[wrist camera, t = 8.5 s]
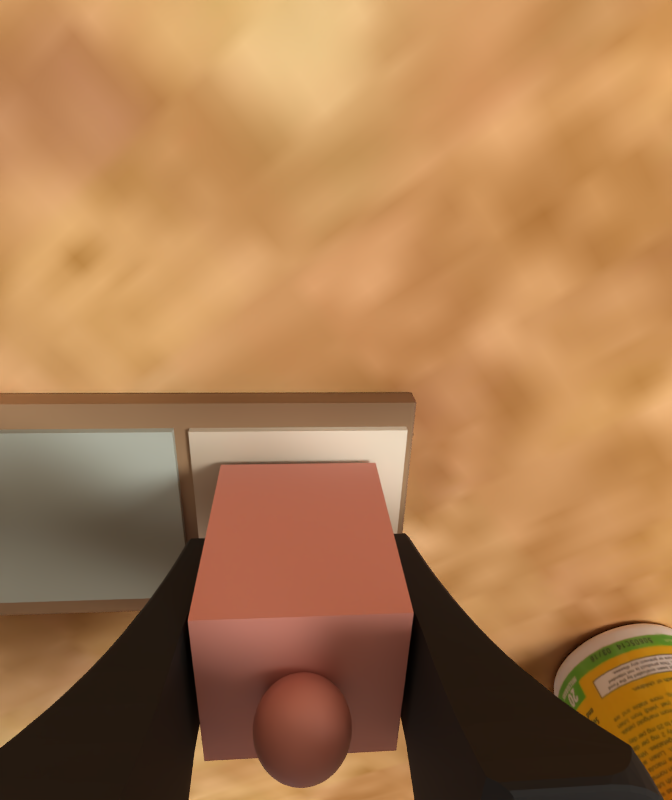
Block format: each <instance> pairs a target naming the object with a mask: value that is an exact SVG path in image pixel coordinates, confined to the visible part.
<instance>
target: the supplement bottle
mask: <svg viewBox="0 0 672 800" xmlns="http://www.w3.org/2000/svg"><path fill="white" fill-rule="evenodd" d="M554 695H555V696H557V697H558V698H559V699H561V700H562V701H564V702H565V703H566V704H568V705H569V706H571V707H572V708H573V709H575V710H576V711H578V712H579V713H580V714H582V715H583V716H585V717H586V718H588V719H589V720H591V721H592V722H594V723H596V724H597V725H599V726H600V727H602V728H604V729H605V730H607V731H608V732H610V733H611V734H613V735H615V736H616V737H618V738H619V739H621V740H622V741H624V742H626V743H627V744H629V745H630V746H631V747H632V748H633V750H634V752H635V753H636V755H637V756H638V758H639V759H640V761H641V762H642V763H643V765H644V766H645V768H646V769H647V771H648V773H649V774H650V776H651V777H652V779H653V781H654V783H655V784H656V786H657V788H658V790H659V792H660V793H661V795H662V797H663V799H664V800H672V628H669V627H666V626H662V625H657V624H647V623H641V624H631V625H625V626H621V627H617V628H614V629H611V630H608V631H606V632H603V633H601V634H599V635H596V636H595V637H593V638H591V639H589V640H588V641H586V642H584V643H583V644H582V645H580V646H579V647H578V648H576V649H575V650H574V651H573V652H572V653H571V654H570V655H569V656H568V657H567V658H566V659H565V660H564V662H563V663H562V665H561V666H560V668H559V670H558V672H557V674H556V677H555V681H554Z"/></svg>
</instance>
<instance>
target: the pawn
mask: <svg viewBox="0 0 672 800" xmlns="http://www.w3.org/2000/svg"><path fill="white" fill-rule="evenodd" d="M413 614H414V612H413V608H412V604H411V600H410V596H409V592H408V589H407V585H406V581H405V577H404V573H403V569H402V565H401V561H400V557H399V553H398V549H397V545H396V541H395V537H394V533H393V530H392V526H391V522H390V518H389V514H388V510H387V506H386V502H385V498H384V494H383V490H382V486H381V482H380V478H379V474H378V470H377V467H376V463H321V464H243V465H221V466H220V471H219V476H218V480H217V485H216V490H215V494H214V499H213V504H212V509H211V513H210V518H209V523H208V527H207V532H206V537H205V541H204V546H203V551H202V556H201V560H200V565H199V570H198V574H197V579H196V584H195V589H194V593H193V598H192V603H191V607H190V612H189V617H188V628H189V636H190V644H191V653H192V661H193V669H194V678H195V686H196V694H197V703H198V711H199V719H200V728H201V736H202V744H203V753H204V761H212V760H230V759H248V758H259V761H260V762H261V764H262V766H263V767H264V769H265V770H266V771H267V772H268V773H269V774H270V775H271V776H272V777H273V778H274V779H276V780H277V781H279V782H280V783H282V784H285V785H288V786H291V787H296V788H305V787H311V786H315V785H317V784H319V783H322V782H323V781H325V780H327V779H328V778H329V777H330V776H332V775H333V774H334V773H335V772H336V771H337V769H338V768H339V767H340V766H341V764H342V762H343V761H344V759H345V757H346V755H347V753H357V752H375V751H394V750H396V747H397V739H398V731H399V724H400V716H401V708H402V700H403V692H404V685H405V677H406V669H407V661H408V653H409V646H410V638H411V630H412V622H413Z"/></svg>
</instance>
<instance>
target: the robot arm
mask: <svg viewBox="0 0 672 800" xmlns="http://www.w3.org/2000/svg"><path fill="white" fill-rule="evenodd" d="M394 537H395V541H396V545H397V549H398V553H399V557H400V561H401V565H402V569H403V573H404V577H405V581H406V585H407V589H408V592H409V596H410V600H411V604H412V608H413V612H414V614H413V622H412V630H411V638H410V646H409V653H408V661H407V669H406V677H405V685H404V692H403V700H402V708H401V720H402V725H403V730H404V735H405V740H406V745H407V752H408V759H409V765H410V772H411V779H412V785H413V792H414V800H664V799H663V797H662V795H661V793H660V792H659V790H658V788H657V786H656V784H655V783H654V781H653V779H652V777H651V776H650V774H649V773H648V771H647V769H646V768H645V766H644V765H643V763H642V762H641V761H640V759H639V758H638V756H637V755H636V753H635V752H634V750H633V748H632V747H631V746H630V745H629V744H627V743H626V742H624V741H622V740H621V739H619V738H618V737H616V736H615V735H613V734H611V733H610V732H608V731H607V730H605V729H604V728H602V727H600V726H599V725H597V724H596V723H594V722H592V721H591V720H589V719H588V718H586V717H585V716H583V715H582V714H580V713H579V712H578V711H576V710H575V709H573V708H572V707H571V706H569V705H568V704H566V703H565V702H564V701H562V700H561V699H559V698H558V697H557V696H555V695H554V694H553V693H551V692H550V691H549V690H548V689H546V688H545V687H544V686H543V685H541V684H540V683H539V682H538V681H536V680H535V679H534V678H533V677H532V676H530V675H529V674H528V673H527V672H525V671H524V670H523V669H522V668H521V667H519V666H518V665H517V664H516V663H515V662H514V661H513V660H512V659H510V658H509V657H508V656H507V655H506V654H505V653H504V652H503V651H502V650H501V649H500V648H499V647H498V646H497V645H496V644H495V643H494V642H493V641H492V640H490V639H489V638H488V636H487V635H486V634H485V633H484V632H483V631H482V630H481V629H480V628H479V627H478V626H477V625H476V624H475V623H474V622H473V621H472V619H471V618H470V617H469V616H468V615H467V614H466V613H465V612H464V610H463V609H462V608H461V607H460V606H459V605H458V603H457V602H456V601H455V600H454V599H453V597H452V596H451V595H450V594H449V592H448V591H447V590H446V589H445V587H444V586H443V585H442V584H441V582H440V581H439V580H438V578H437V577H436V576H435V574H434V573H433V572H432V570H431V569H430V568H429V566H428V565H427V563H426V562H425V561H424V559H423V558H422V556H421V555H420V553H419V552H418V550H417V549H416V547H415V546H414V544H413V543H412V541H411V540H410V538H409V537H408V536H407V535H406V534H405V533H402V534H394ZM204 541H205V538H191V539H190V540H189V541H188V542H187V543H186V545H185V547H184V548H183V550H182V552H181V554H180V555H179V557H178V558H177V560H176V562H175V563H174V565H173V566H172V568H171V569H170V571H169V572H168V574H167V575H166V577H165V578H164V580H163V581H162V583H161V584H160V586H159V587H158V588H157V590H156V591H155V593H154V594H153V595H152V597H151V598H150V599H149V601H148V602H147V604H146V605H145V606H144V608H143V609H142V610H141V611H140V613H139V614H138V615H137V616H136V618H135V619H134V620H133V621H132V623H131V624H130V625H129V626H128V627H127V629H126V630H125V631H124V632H123V634H122V635H121V636H120V637H119V638H118V639H117V641H116V642H115V643H114V644H113V645H112V646H111V647H110V648H109V650H108V651H107V652H106V653H105V654H104V655H103V656H102V657H101V658H100V659H99V660H98V661H97V662H96V664H95V665H94V666H93V667H92V668H91V669H90V670H89V671H88V672H87V673H86V674H85V675H84V676H83V677H82V678H81V679H79V680H78V681H77V682H76V683H75V684H74V685H73V686H72V687H71V688H70V689H69V690H68V691H67V692H66V693H65V694H64V695H63V696H62V697H61V698H60V699H58V700H57V701H56V702H55V703H54V704H53V705H52V706H51V707H49V708H48V709H47V710H46V711H45V712H44V713H42V714H41V715H40V716H39V717H38V718H36V719H35V720H34V721H33V722H32V723H30V724H29V725H28V726H27V727H26V728H24V729H23V730H22V731H21V732H20V733H19V734H17V735H16V736H15V737H14V738H12V739H11V740H10V741H9V742H7V743H6V744H5V745H4V746H2V747H1V748H0V800H189V792H190V783H191V775H192V767H193V759H194V752H195V746H196V740H197V735H198V730H199V725H200V719H199V711H198V703H197V694H196V686H195V678H194V669H193V661H192V653H191V644H190V636H189V628H188V617H189V612H190V607H191V603H192V598H193V593H194V589H195V584H196V579H197V574H198V570H199V565H200V560H201V556H202V551H203V546H204Z"/></svg>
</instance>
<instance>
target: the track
mask: <svg viewBox="0 0 672 800" xmlns="http://www.w3.org/2000/svg"><path fill="white" fill-rule="evenodd" d="M415 410H416V401H415V399H414V397H413V395H412V393H118V394H0V615H28V614H58V613H89V612H119V611H141V610H142V609H143V608H144V606H145V605H146V604H147V602H148V601H149V599H150V598H151V597H152V595H153V594H154V593H155V591H156V590H157V588H158V587H159V586H160V584H161V583H162V581H163V580H164V578H165V577H166V575H167V574H168V572H169V571H170V569H171V568H172V566H173V565H174V563H175V562H176V560H177V558H178V557H179V555H180V554H181V552H182V550H183V548H184V547H185V545H186V543H187V542H188V541H189V540H190V539H191V538H205V537H206V532H207V527H208V523H209V518H210V513H211V509H212V504H213V499H214V494H215V490H216V485H217V480H218V476H219V471H220V466H221V465H243V464H321V463H376V467H377V470H378V474H379V478H380V482H381V486H382V490H383V494H384V498H385V502H386V506H387V510H388V514H389V518H390V522H391V526H392V530H393V533H394V534H402V531H403V522H404V512H405V503H406V494H407V484H408V475H409V466H410V456H411V447H412V438H413V428H414V419H415Z"/></svg>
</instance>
